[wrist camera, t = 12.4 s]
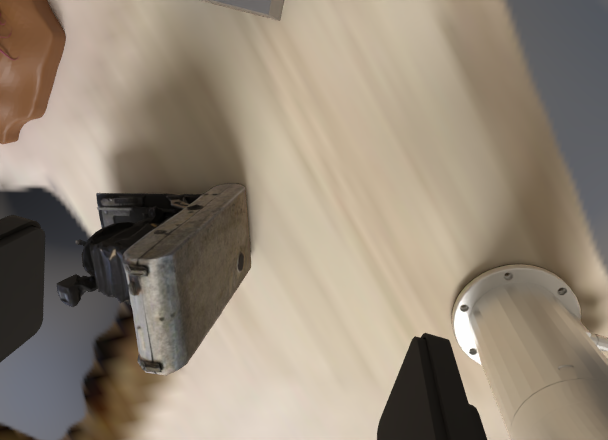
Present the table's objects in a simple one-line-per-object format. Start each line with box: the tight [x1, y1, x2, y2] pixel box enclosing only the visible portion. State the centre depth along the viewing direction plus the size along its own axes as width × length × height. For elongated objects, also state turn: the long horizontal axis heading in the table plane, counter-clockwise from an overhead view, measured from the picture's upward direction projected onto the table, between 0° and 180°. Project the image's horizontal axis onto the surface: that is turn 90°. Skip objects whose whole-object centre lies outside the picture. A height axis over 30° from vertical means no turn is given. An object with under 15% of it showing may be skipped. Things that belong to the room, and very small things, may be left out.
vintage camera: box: [57, 184, 251, 375], centre depth 39 cm, size 10×16×20 cm, turn 91°
